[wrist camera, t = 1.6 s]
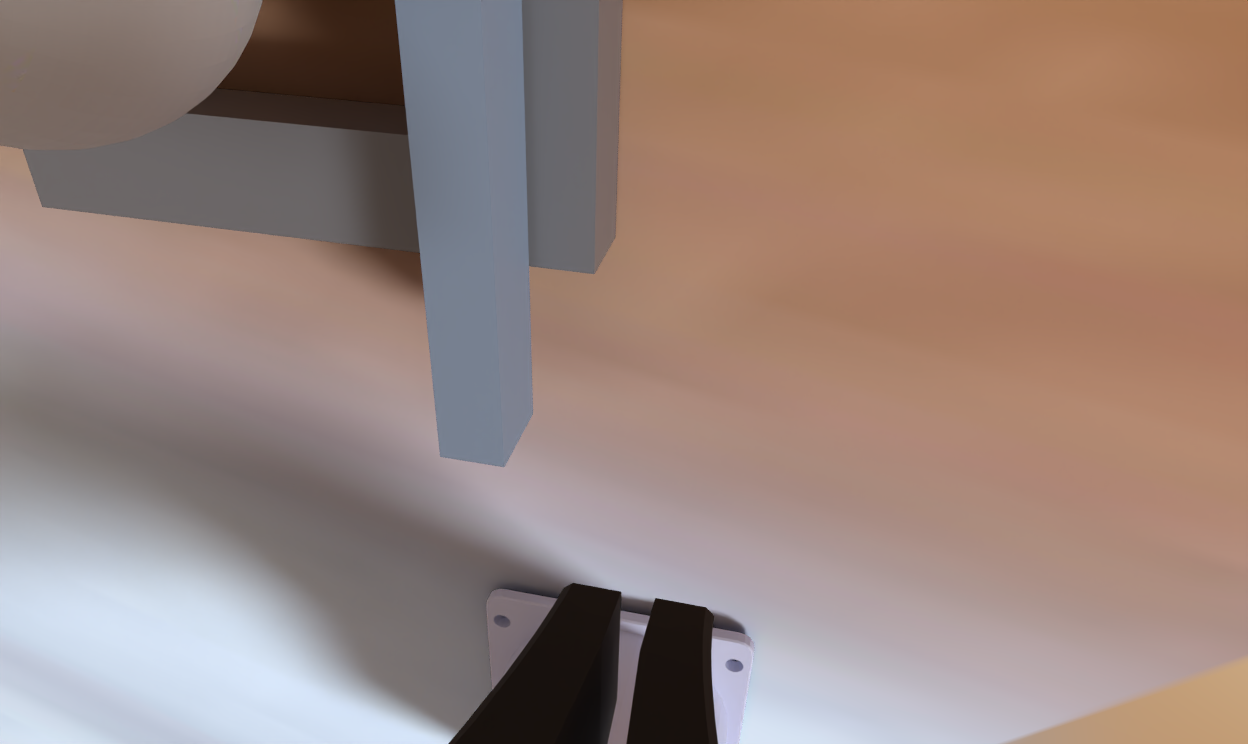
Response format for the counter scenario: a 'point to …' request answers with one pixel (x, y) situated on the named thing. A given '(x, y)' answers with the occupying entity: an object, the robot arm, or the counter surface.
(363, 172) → the grey flat frame
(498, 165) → the blue-grey long bar
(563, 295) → the counter surface
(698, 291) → the counter surface
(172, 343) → the counter surface
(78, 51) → the light bulb
